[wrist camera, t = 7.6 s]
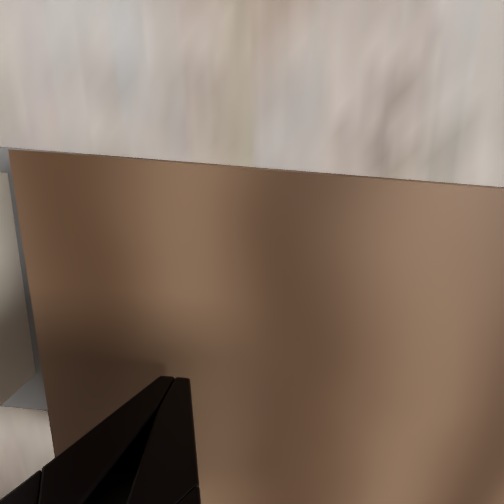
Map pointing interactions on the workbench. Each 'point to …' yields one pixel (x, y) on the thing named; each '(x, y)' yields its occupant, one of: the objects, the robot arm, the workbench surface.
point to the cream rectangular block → (12, 305)
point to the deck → (276, 321)
